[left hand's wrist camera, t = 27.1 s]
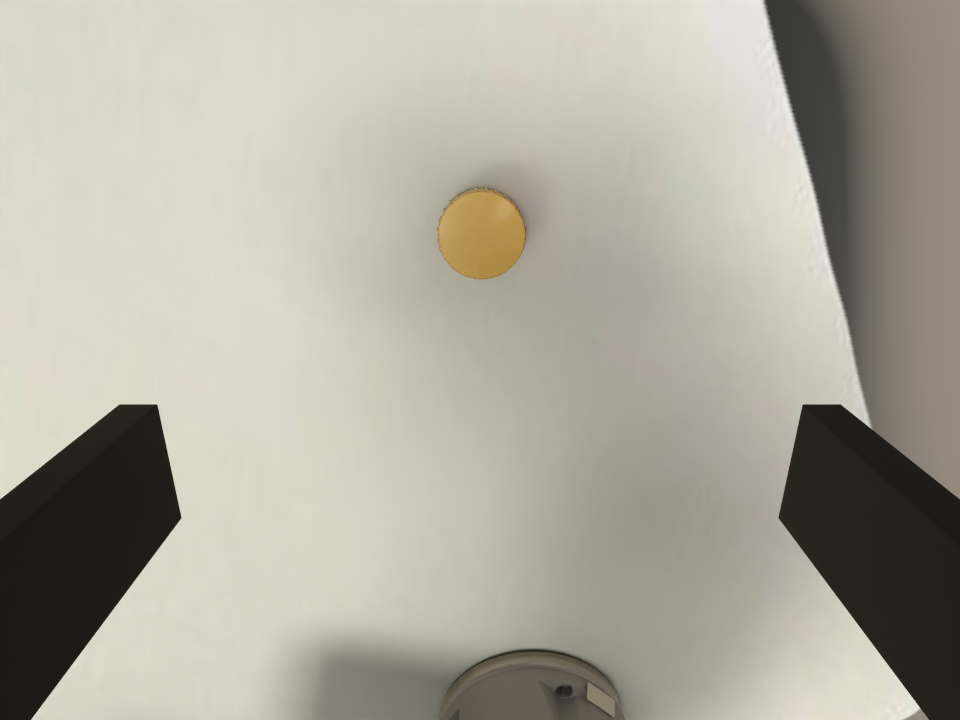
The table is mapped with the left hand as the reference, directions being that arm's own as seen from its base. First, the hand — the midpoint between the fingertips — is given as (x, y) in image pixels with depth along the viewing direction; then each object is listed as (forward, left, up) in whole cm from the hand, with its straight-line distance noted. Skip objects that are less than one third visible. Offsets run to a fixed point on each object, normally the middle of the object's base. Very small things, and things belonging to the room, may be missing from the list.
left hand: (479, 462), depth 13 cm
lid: (0, 0, -24) cm, 25 cm away
